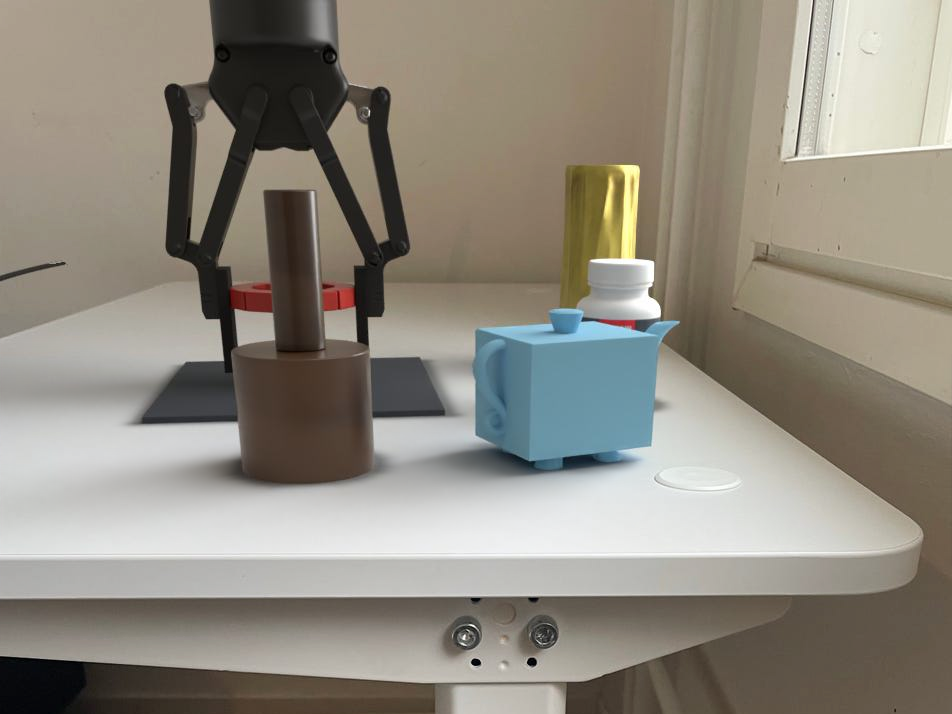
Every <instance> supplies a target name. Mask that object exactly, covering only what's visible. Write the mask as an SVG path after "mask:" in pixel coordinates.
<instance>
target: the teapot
mask: <svg viewBox="0 0 952 714" xmlns="http://www.w3.org/2000/svg"><path fill="white" fill-rule="evenodd" d="M583 313H584V312H583V311H581V310H578V309H559V308H554V309H551V310H549V311H548V315H549V316H548V317H549V320H550V322H551V323H544V324H543V323H542V324H527V325H526V324H525V325H511V326H496V327H494V326H493V327H480V328H476V329H475V331H474V333H475V335H474V336H475V337H474V338H475V341H474V342H475V343H474V345H475V347H474V349H475V350H474V352H475V353H474V354H475V356H474V359H473V361H472V375H473V379H474V381H475V385H474V388H475V392H474V393H475V394H474V395H475V396H474V397H475V398H474V399H475V401H474V403H475V404H474V409H475V411H474V414H475V415H474V417H475V418H474V419H475V420H474V422H475V423H474V428H475V429H474V431H475V432H474V433H475V436H476V437H478V438H480V439H482V440H484V441H486V442H489V443H491V444H492V445H494V446H496V447H499V448H501V449H502V452H503V453H505V454H511V455H515V456H517V457H519V458H522V459H523V460H526V461H527V462H534V464H533V467H534V468H536V469H539V470H544V471H545V470H546V471H547V470H548V471H549V470H550V471H552V470H553V471H554V470H559V469H561V468H563V467H564V465H563V464H564V460H563V459H564V458H568V457H575V456H576V457H577V456H584V455H592V458H593V460H595V461H598V462H603V463H616V462H619V461H621V460H622V457H621V455H620V453H619V452H618V451H624V450H632V449H641V448H649V447H652V443H653V442H652V441H653V431H654V430H653V428H654V413H655V400H656V388H657V374H658V360H659V347H660V344H661V343H662V340H663V338H664V337H666V335H667V333H668V332H669V331H670V330H672V329H673V328H674V327H676V326H678V324H680V323H681V321H680V320H665V321H663V320H662V321H660V322H657V323H654V324H652V325H651V326H650V327H649V328H648V329H647V330H646V332H645V333H644V332H640V331H636V330H631V329H627V328H622V327H618V326H613V325H608V324H604V323H599V322H595V321H589V322H581V319H582V317H583Z"/></svg>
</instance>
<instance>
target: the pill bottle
mask: <svg viewBox="0 0 952 714" xmlns="http://www.w3.org/2000/svg"><path fill="white" fill-rule="evenodd" d="M654 276H655V262H654V261H652V260H648V259H638V258H635V259H595V260H590V261H589V266H588V285H590V286H591V292H590V295H589V296H586V297H584V298H583V299H581V300H580V301H579V303H578V304H577V307H576V309H578V310H581V311H583V312H584V313H583V317H582V319H581V322H589V321H595V322H599V323H604V324H608V325H613V326H618V327H622V328H627V329H631V330H636V331H640V332H644V333H645V332H646V330H647V329H648V328H649V327H650V326H651V325H652V324H654V323H657V322H661V306H660V305H659V303H658V302H657V300H656V299H654V298H652V297H650V296H649V288H651V287H653V283H654V281H655V279H654V278H655V277H654Z"/></svg>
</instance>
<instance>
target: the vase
mask: <svg viewBox="0 0 952 714" xmlns="http://www.w3.org/2000/svg"><path fill="white" fill-rule="evenodd" d="M640 173H641V172H640V166H639V165H637V164H566V166H565V170H564V188H565V189H564V210H563V211H564V212H563V213H564V217H563V242H562V243H563V245H562V261H561V273H560V290H559V305H558V306H559V307H558V309H576V307H577V304H578V303H579V301H580V300H581V299H583V298H584V297H586V296H589V295H590V292H591V286H590V285H588V266H589V261H590V260H595V259H636V242H637V241H636V240H637V239H636V238H637V222H638V206H639V205H638V202H639V184H640Z"/></svg>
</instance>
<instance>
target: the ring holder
mask: <svg viewBox="0 0 952 714" xmlns="http://www.w3.org/2000/svg"><path fill="white" fill-rule="evenodd" d="M262 195H263V207H264V208H263V209H264V220H265V232H266V245H267V246H266V247H267V257H268V258H267V259H268V270H269V281H270V284H271V296H272V309H273V313H272V321H273V332H274V340H264V341H256V342H250V343H245V344H242V345H238V347H236V348H234V349H233V350H232V351H231V357H232V367H233V378H234V388H235V398H236V408H237V418H238V421H237V427H238V438H239V447H240V448H239V449H240V456H241V457H240V458H241V459H240V460H241V467H242V472H243V474H245V476H247V477H249V478H252V479H254V480H258V481H262V482H267V483H274V484H284V485H285V484H287V485H310V484H326V483H333V482H340V481H344V480H349V479H354V478H357V477H360V476H363V475H365V474H368V473H369V472H371V471H372V470H373V469H374V468H375V465H376V464H375V463H376V462H375V439H374V418H373V413H372V390H371V366H370V358H371V349H370V346H369V347H368V346H367V345H365V344H362V343H358V342H357V341H352V340H344V339H335V338H334V339H332V338H326V323H325V311H324V305H323V288H322V281H323V274H322V257H321V242H320V241H321V240H320V239H321V238H320V225H319V208H318V207H319V206H318V192H317V190H316V189H300V188H299V189H296V188H295V189H294V188H293V189H290V188H289V189H264V190H263V191H262Z"/></svg>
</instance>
